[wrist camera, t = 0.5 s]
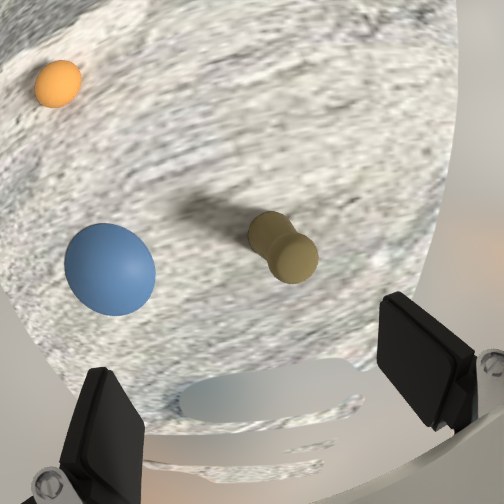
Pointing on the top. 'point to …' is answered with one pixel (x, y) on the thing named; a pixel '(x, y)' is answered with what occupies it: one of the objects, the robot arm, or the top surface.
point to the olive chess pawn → (283, 248)
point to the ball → (58, 84)
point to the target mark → (110, 269)
